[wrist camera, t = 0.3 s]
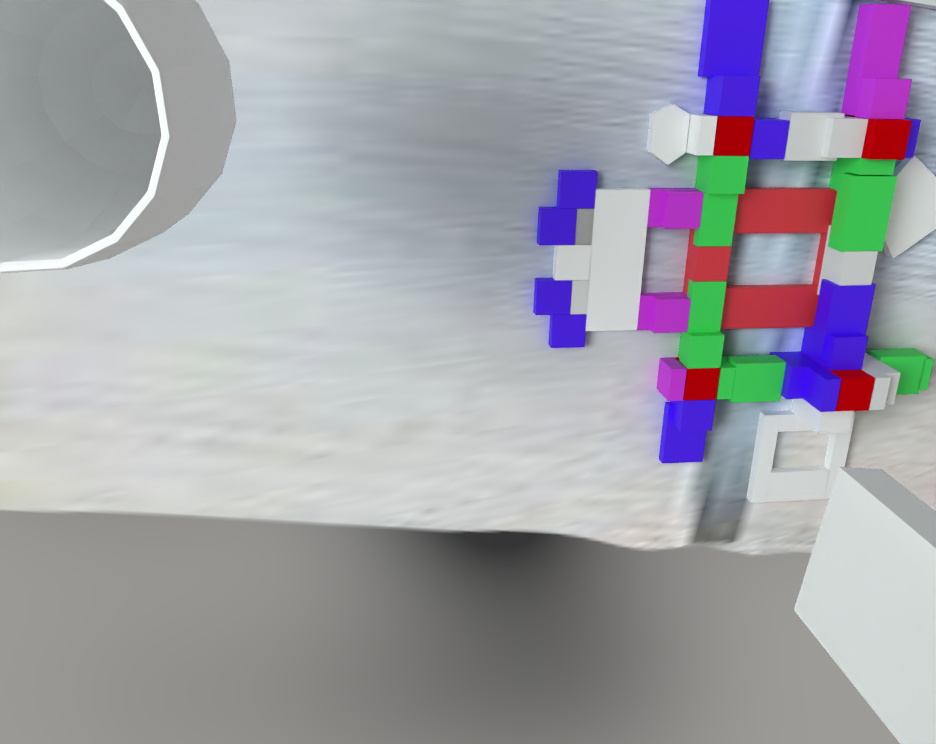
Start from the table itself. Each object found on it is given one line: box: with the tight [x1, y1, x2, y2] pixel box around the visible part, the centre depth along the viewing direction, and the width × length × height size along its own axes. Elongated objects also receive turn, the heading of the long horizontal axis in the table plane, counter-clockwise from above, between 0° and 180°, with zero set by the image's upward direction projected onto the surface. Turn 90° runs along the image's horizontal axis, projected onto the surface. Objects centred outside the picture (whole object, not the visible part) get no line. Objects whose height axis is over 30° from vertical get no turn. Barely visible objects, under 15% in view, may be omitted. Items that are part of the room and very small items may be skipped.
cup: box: [0, 0, 237, 273], centre depth 25 cm, size 7×7×21 cm
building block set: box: [533, 0, 936, 503], centre depth 39 cm, size 25×20×4 cm
